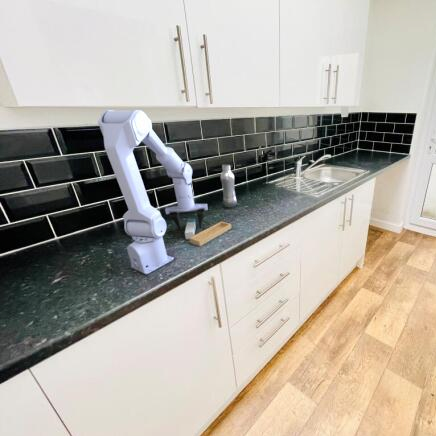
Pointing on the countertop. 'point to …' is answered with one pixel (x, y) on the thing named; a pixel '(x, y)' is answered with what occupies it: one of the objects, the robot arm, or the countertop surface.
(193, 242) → the pen tray
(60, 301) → the countertop surface
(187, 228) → the marker
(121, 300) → the countertop surface
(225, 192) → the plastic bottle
